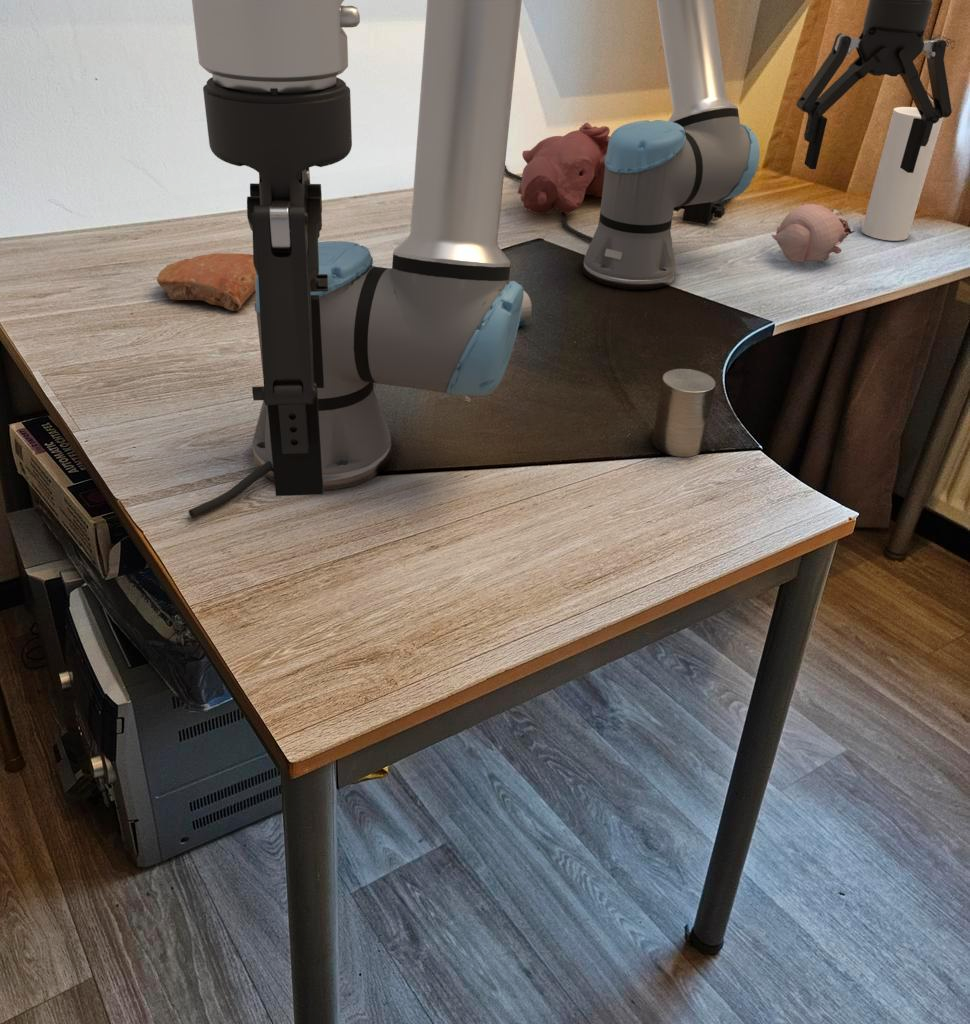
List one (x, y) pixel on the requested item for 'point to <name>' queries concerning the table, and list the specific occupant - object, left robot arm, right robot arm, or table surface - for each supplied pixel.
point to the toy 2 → (811, 233)
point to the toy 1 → (702, 212)
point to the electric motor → (525, 309)
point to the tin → (683, 412)
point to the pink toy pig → (564, 170)
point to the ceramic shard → (211, 279)
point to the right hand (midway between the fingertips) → (858, 168)
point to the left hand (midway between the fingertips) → (302, 434)
